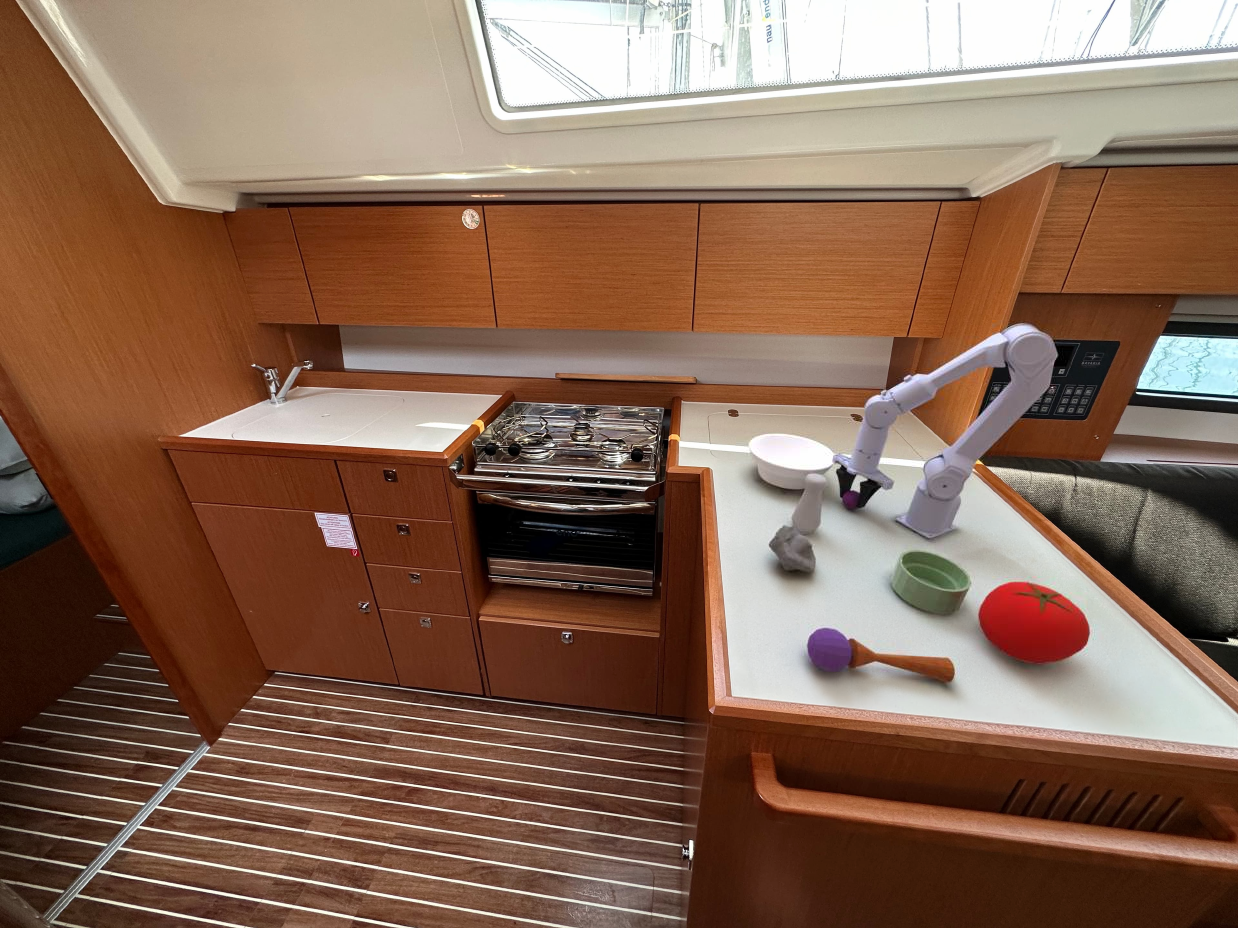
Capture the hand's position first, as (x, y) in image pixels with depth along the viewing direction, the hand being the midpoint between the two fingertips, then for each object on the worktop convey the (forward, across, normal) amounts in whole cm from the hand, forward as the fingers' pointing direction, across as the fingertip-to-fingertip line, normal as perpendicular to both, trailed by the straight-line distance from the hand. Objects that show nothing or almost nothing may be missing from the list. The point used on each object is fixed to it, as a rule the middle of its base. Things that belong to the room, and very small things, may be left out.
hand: (851, 501), depth 110 cm
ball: (-1, 0, 0) cm, 1 cm away
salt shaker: (+2, +2, -17) cm, 17 cm away
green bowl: (+2, +26, -12) cm, 29 cm away
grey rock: (+2, +10, -29) cm, 31 cm away
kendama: (+2, +33, -35) cm, 48 cm away
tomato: (+2, +40, -10) cm, 41 cm away
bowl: (+2, -17, -4) cm, 18 cm away
